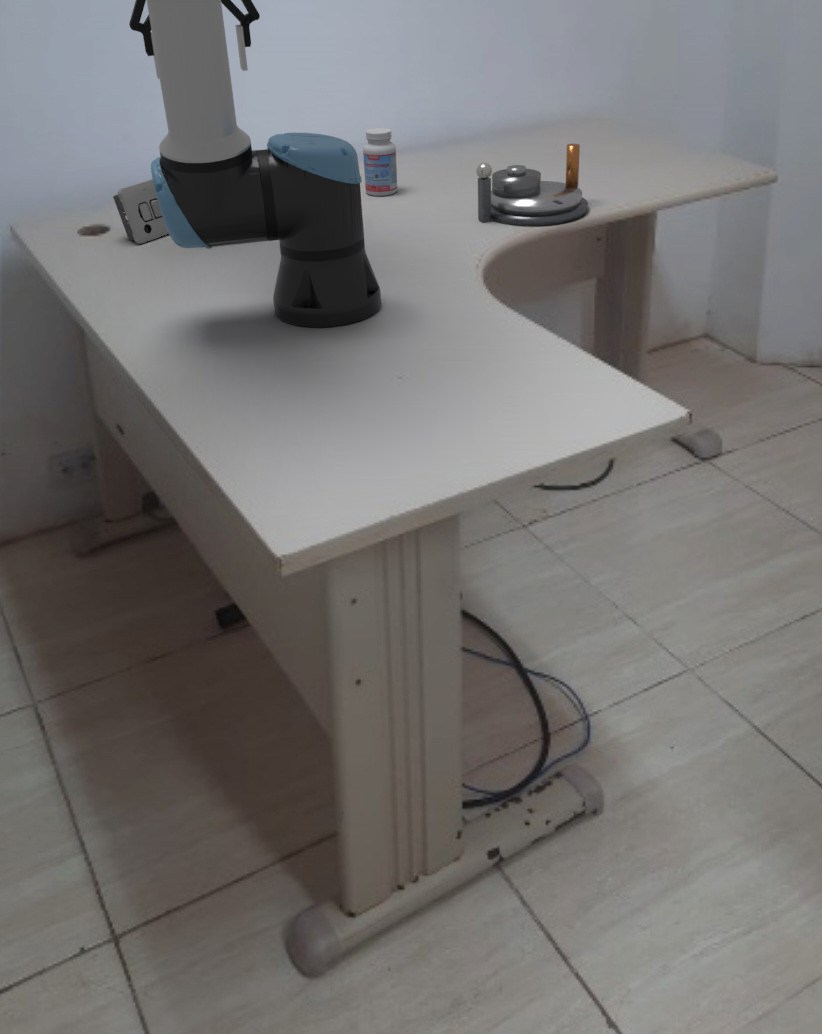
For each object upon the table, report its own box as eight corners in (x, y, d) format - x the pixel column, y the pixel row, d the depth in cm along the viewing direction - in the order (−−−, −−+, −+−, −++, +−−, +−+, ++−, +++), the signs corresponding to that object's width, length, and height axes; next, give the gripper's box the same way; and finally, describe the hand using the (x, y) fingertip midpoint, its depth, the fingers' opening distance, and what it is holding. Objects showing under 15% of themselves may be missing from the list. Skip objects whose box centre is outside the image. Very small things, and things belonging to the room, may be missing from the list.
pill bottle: (361, 196, 198) (357, 134, 192) (371, 187, 203) (368, 126, 197) (392, 197, 197) (388, 134, 191) (402, 188, 202) (398, 127, 196)
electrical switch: (139, 246, 179) (125, 190, 174) (120, 244, 182) (106, 189, 177) (181, 231, 185) (169, 177, 180) (162, 229, 188) (150, 176, 184)
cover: (549, 193, 183) (550, 168, 181) (508, 201, 180) (508, 176, 178) (524, 182, 190) (524, 158, 187) (483, 190, 187) (483, 166, 184)
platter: (603, 204, 181) (605, 153, 177) (520, 220, 175) (520, 168, 171) (552, 183, 194) (553, 135, 189) (472, 198, 188) (472, 149, 183)
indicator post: (495, 221, 181) (494, 163, 176) (481, 224, 180) (481, 165, 175) (487, 217, 183) (487, 160, 178) (474, 220, 182) (473, 162, 177)
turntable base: (608, 214, 182) (608, 207, 181) (518, 232, 175) (518, 225, 174) (550, 190, 195) (550, 184, 195) (465, 207, 189) (465, 200, 188)
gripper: (259, -83, 166) (274, 62, 177) (96, -73, 160) (122, 77, 172) (267, -82, 159) (282, 69, 171) (97, -71, 154) (125, 84, 165)
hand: (202, 73), depth 171 cm, fingers open, 13 cm apart
